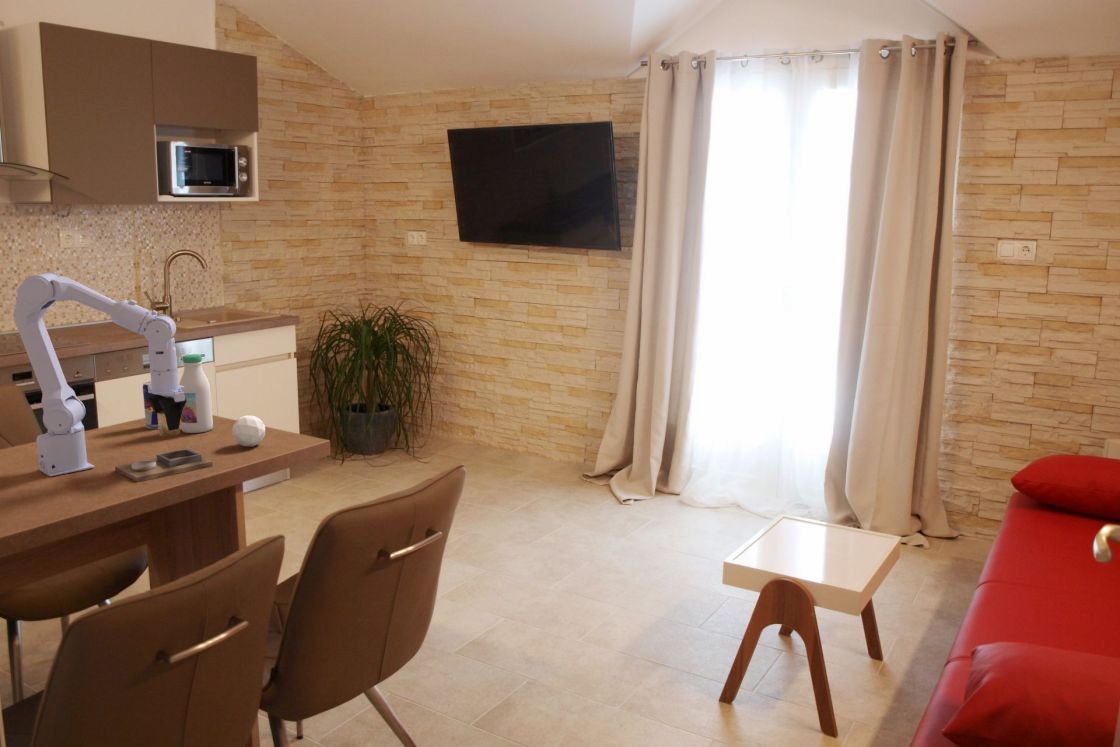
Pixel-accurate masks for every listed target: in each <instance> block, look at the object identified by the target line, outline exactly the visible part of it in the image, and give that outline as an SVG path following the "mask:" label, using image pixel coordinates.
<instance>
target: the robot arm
mask: <svg viewBox="0 0 1120 747" xmlns="http://www.w3.org/2000/svg"><path fill="white" fill-rule="evenodd" d="M65 301H66V302H68V301H73V302H77V303H80V304H82V305H84V306H87V307H90V308H92V309H94V310H96V311H100V312H102V313H105V314H107V315H108V316H109V317H110V318H111V320H112V323H114V324H115V325H118V326H121V327H123V328H125V329H126V330H129V331H132V332H134V333H136V334H138V335H141V336H142V335H143V336H144V338H145V339H146V340H147V342H148V360H149V371H150V373H149V374H150V381H151V384H149V385H148V393H152V394H153V396H150V397H147V401H148V402H149V403H150V405H151V407H152V408H153V411H154V413H155V416H156V419H157V422H158V415H157V413H158V412H161V411H164V414H165V417H166V422H167V426H168V429H169V430H176V429H179V428H180V425H181V414H182V411H183V408H184V406H185V404H186V402H187V400H186V399H185V396H184V392H182V389H184V386H182V385H179V384H180V380H179V371H178V369H179V368H178V359H177V348H176V341H175V337H174V336H175V335H176V332H177V325H176V322H175V320H174V319H173V318H171V317H170V316H169V315H167V314H158V313H159V312H158V311H157V310H154V309H153V310H152V311H151V310H149V309H147V308H145V307H142V306H140V305H138V302H137V300H134V299H130V300H127V299H122V300H119V301H115V300H114V299H112V298H109V297H108V296H106V295H104V294H101V293H99V292H98V291H96V290H94V289H92V288H90V287H88V286H86V285H84V284H83V283H80V282H78V281H76V280H74V279H71V278H70V277H67V276H64V275H63V276H61V275H60V274H58V273H56V272H53V271H46V272H45V271H44V272H43V273H40V274H39V273H38V274H34V275H30V276H28V277H26V278H25V279H23V281H22V282H21V283H20V285H19V286H18V287H17V289H16V301H15V306H14V310H13V320H14V323H15V325H16V328H17V330H18V333H19V336H20V338H21V341H22V344H23V347H24V349H25V352H26V353H27V356H28V359H29V362H30V364H31V367H32V370H33V371H34V375H35V377H36V380H37V382H38V384H39V387H40V389H41V393H42V395H41V396H42V398H41V408H42V411H43V413H42V414H43V415H42V423H43V425H44V427H45V428H46V429H47V432H46V433H44V434H43V433H42V434H39V435H38V436H36V442H35V443H36V453H37V462H38V467H37V470H39V471H40V472H42V473H44V474H45V475H47V477H54V476H59V475H64V474H70V473H75V472H80V471H83V470H84V471H85V470H90V469H94V468H95V465H94V464H93V463H90V462H88V457H87V456H88V455H87V444H86V435H85V426H84V424H83V423H82V420H83V419H84V418H85V415H86V407H85V405H84V403H83V402H82V401H81V400H80V399H79V398H78V397H77V395H76V392H75V390H74V389H73V388H72V387H71V386H69V385H68V383H67V380H66V377H65V375H64V373H63V370H62V366H61V364H60V361H59V358H58V356H57V353H56V350H55V348H54V346H53V343H52V340H51V337H50V335H49V333H48V329H47V327H46V325H45V322H44V320H43V318H44V316H45V314H46V313H47V312H48V310H49V309H50V307H51V306H52V305H53V304H54V303H56V302H65Z"/></svg>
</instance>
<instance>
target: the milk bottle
mask: <svg viewBox="0 0 1120 747" xmlns="http://www.w3.org/2000/svg"><path fill="white" fill-rule="evenodd" d="M182 362H183V363H182V364H183V366H184V367H183V368H184V369H183V373H182V376H181V378H180V380H179V385H182V386H184V389H182V392H184V396H185V399H186V400H187V402H186V404H185V406H184V408H183V411H182V414H181V419H180V425H181V430H182V432H183V433H186V434H187V433H188V434H199V433H200V434H201V433H205V432H206V433H207V432H209V431H212V430H213V428H214V422H213V421H214V420H213V408H212V407H213V406H212V394H211V386H210V385H211V384H210V382H209V380H208V377H207V376H206V373H205V372H204V369H203V367H202V364H203V356H202V354H197V353H193V354H185V355H182Z"/></svg>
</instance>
